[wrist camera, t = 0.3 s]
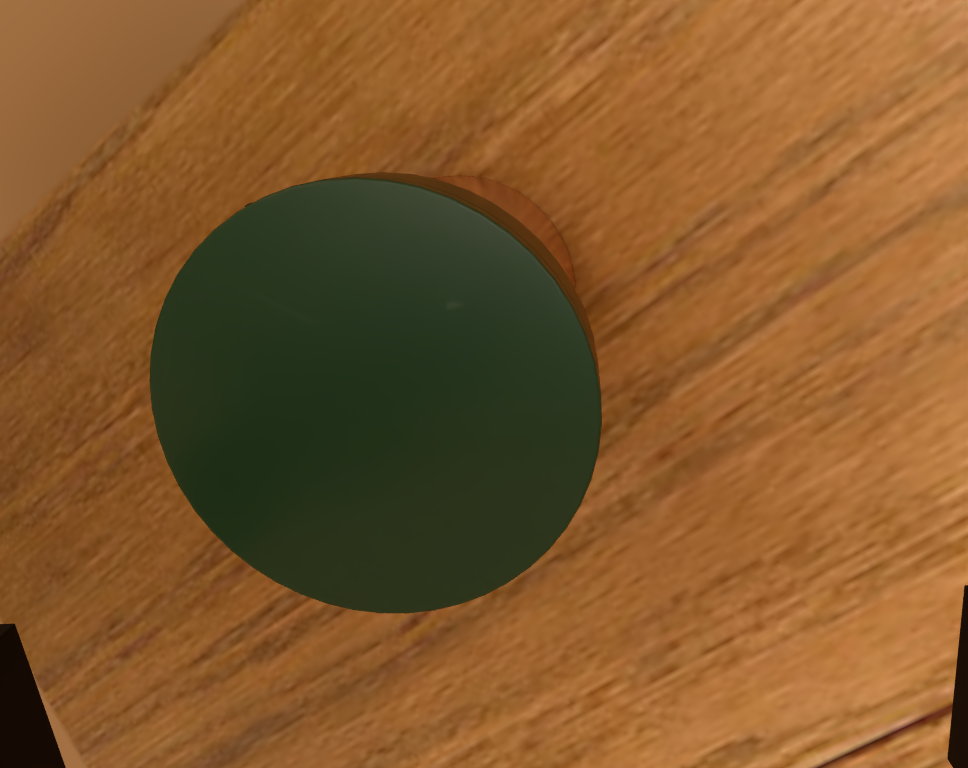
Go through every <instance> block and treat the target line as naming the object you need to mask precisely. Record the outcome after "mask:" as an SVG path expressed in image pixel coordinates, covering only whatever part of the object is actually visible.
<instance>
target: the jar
mask: <svg viewBox="0 0 968 768" xmlns="http://www.w3.org/2000/svg"><path fill="white" fill-rule="evenodd" d="M433 179H437V180H441V181H444V182H447V183H450V184H452V185H455V186H458V187H461V188H464V189H467V190H469V191H471V192H473V193H475V194H477V195H479V196H481V197H483V198H485V199H487V200H489V201H490V202H492V203H494V204H496V205H497V206H499V207H500V208H501V209H503V210H504V211H506V212H507V213H509V214H510V215H512V216H513V217H515V218H516V219H517V220H519V221H520V222H521V223H522V224H523V225H524V226H525V227H526V228H527V229H529V230H530V231H531V232H532V233H533V234H534V235H535V236H536V237H537V238H539V239H540V241H541V242H542V243H543V244H544V245H545V246H546V248H547V249H548V250H549V251H550V252H551V253H552V255H553V256H554V257H555V258H556V259H557V261H558V262H559V263H560V265H561V267H562V268H563V270H564V271H565V273H566V274H567V276H568V277H569V279H570V281H571V282H572V284H573V285H574V287H575V289H576V283H575V275H574V269H573V264H572V261H571V258H570V255H569V252H568V249H567V247H566V245H565V243H564V241H563V239H562V236H561V235H560V233H559V232H558V230H557V229H556V227H555V226H554V224H553V223H552V221H551V220H550V219H549V218H548V217H547V216H546V214H545V213H544V212H543V211H542V210H541V209H540V208H539V207H538V206H537V205H535V204H534V203H533V202H532V201H531V200H529V199H528V198H527V197H525V196H524V195H522V194H521V193H519V192H518V191H516V190H514V189H512V188H510V187H508V186H506V185H504V184H501V183H498V182H495V181H492V180H490V179H485V178H480V177H475V176H462V175H455V176H442V177H438V178H433Z"/></svg>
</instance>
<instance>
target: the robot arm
mask: <svg viewBox="0 0 968 768" xmlns="http://www.w3.org/2000/svg"><path fill="white" fill-rule="evenodd" d="M948 760H949V762H950V764H951V765H952V767H953V768H968V585H965V587H964V597H963V607H962V617H961V628H960V638H959V648H958V658H957V668H956V678H955V688H954V698H953V708H952V718H951V729H950V739H949V749H948ZM0 768H65V765H64V762H63V759H62V756H61V754H60V751H59V748H58V745H57V742H56V739H55V737H54V733H53V731H52V728H51V725H50V722H49V719H48V716H47V714H46V711H45V708H44V705H43V703H42V699H41V697H40V694H39V691H38V688H37V685H36V682H35V680H34V677H33V674H32V671H31V668H30V665H29V663H28V660H27V657H26V654H25V651H24V648H23V646H22V643H21V640H20V637H19V634H18V631H17V629H16V626H15V624H0Z"/></svg>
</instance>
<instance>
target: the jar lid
mask: <svg viewBox="0 0 968 768" xmlns="http://www.w3.org/2000/svg"><path fill="white" fill-rule="evenodd" d="M150 391H151V402H152V411H153V415H154V420H155V424H156V429H157V433H158V437H159V440H160V443H161V446H162V449H163V451H164V454H165V457H166V460H167V463H168V465H169V467H170V469H171V471H172V473H173V475H174V477H175V479H176V481H177V483H178V485H179V487H180V488H181V490H182V492H183V493H184V495H185V496H186V498H187V499H188V501H189V502H190V504H191V505H192V507H193V509H194V510H195V511H196V513H197V514H198V515H199V516H200V517H201V519H202V520H203V521H204V522H205V524H206V525H207V526H208V527H209V528H210V530H211V531H212V532H213V533H214V534H215V535H216V536H217V537H218V538H219V539H220V540H221V541H222V542H223V543H224V544H225V545H226V546H227V547H228V548H229V549H230V550H231V551H233V552H234V553H235V554H236V555H238V556H239V557H240V558H241V559H243V560H244V561H245V562H247V563H248V564H249V565H250V566H252V567H253V568H254V569H256V570H258V571H259V572H261V573H262V574H264V575H266V576H267V577H269V578H270V579H272V580H274V581H275V582H277V583H279V584H281V585H283V586H285V587H287V588H289V589H291V590H293V591H295V592H298V593H300V594H302V595H305V596H307V597H310V598H313V599H316V600H319V601H321V602H324V603H327V604H331V605H335V606H340V607H344V608H348V609H352V610H359V611H367V612H376V613H414V612H423V611H432V610H437V609H442V608H446V607H450V606H454V605H459V604H462V603H464V602H467V601H470V600H473V599H475V598H478V597H481V596H483V595H486V594H487V593H489V592H491V591H493V590H495V589H497V588H499V587H501V586H503V585H505V584H507V583H508V582H510V581H511V580H513V579H514V578H515V577H517V576H518V575H520V574H521V573H522V572H524V571H525V570H527V569H528V568H530V567H531V566H532V565H533V564H534V563H535V562H536V561H537V560H538V559H539V558H540V557H541V556H543V555H544V554H545V553H546V552H547V551H548V550H549V549H550V548H551V547H552V545H553V544H554V543H555V542H556V540H557V539H558V538H559V537H560V536H561V534H562V533H563V532H564V531H565V529H566V528H567V527H568V525H569V523H570V522H571V520H572V518H573V517H574V515H575V513H576V512H577V510H578V508H579V507H580V505H581V503H582V500H583V498H584V496H585V493H586V491H587V488H588V486H589V484H590V481H591V479H592V475H593V471H594V467H595V464H596V460H597V456H598V452H599V444H600V435H601V426H602V412H601V388H600V377H599V367H598V359H597V353H596V347H595V342H594V336H593V333H592V330H591V327H590V323H589V320H588V317H587V314H586V311H585V309H584V306H583V304H582V302H581V300H580V298H579V296H578V294H577V292H576V289H575V287H574V285H573V284H572V282H571V281H570V279H569V277H568V276H567V274H566V273H565V271H564V270H563V268H562V267H561V265H560V263H559V262H558V261H557V259H556V258H555V257H554V256H553V255H552V253H551V252H550V251H549V250H548V249H547V248H546V246H545V245H544V244H543V243H542V242H541V241H540V239H539V238H537V237H536V236H535V235H534V234H533V233H532V232H531V231H530V230H529V229H527V228H526V227H525V226H524V225H523V224H522V223H521V222H520V221H519V220H517V219H516V218H515V217H513V216H512V215H510V214H509V213H507V212H506V211H504V210H503V209H501V208H500V207H499V206H497V205H496V204H494V203H492V202H490V201H489V200H487V199H485V198H483V197H481V196H479V195H477V194H475V193H473V192H471V191H469V190H467V189H464V188H461V187H458V186H455V185H452V184H450V183H447V182H444V181H441V180H437V179H432V178H427V177H422V176H418V175H413V174H400V173H385V172H380V173H367V174H354V175H348V176H341V177H335V178H329V179H323V180H318V181H314V182H309V183H305V184H300V185H295V186H292V187H289V188H286V189H284V190H281V191H278V192H276V193H273V194H270V195H268V196H265V197H263V198H261V199H259V200H257V201H256V202H253V203H249V204H247V205H246V206H245V208H243V209H241V210H240V211H238V212H236V213H235V214H234V215H232V216H231V217H230V218H229V219H227V220H226V221H225V222H223V223H222V224H221V225H220V226H218V227H217V228H216V229H214V230H213V231H212V232H211V233H210V235H209V236H208V237H207V238H206V239H205V240H204V241H203V242H202V243H201V244H200V245H199V246H198V247H197V248H196V249H195V250H194V251H193V253H192V254H191V256H190V257H189V259H188V260H187V261H186V263H185V264H184V266H183V267H182V268H181V270H180V271H179V273H178V274H177V276H176V278H175V280H174V282H173V284H172V286H171V288H170V290H169V292H168V294H167V296H166V298H165V301H164V304H163V307H162V310H161V313H160V316H159V319H158V322H157V325H156V329H155V334H154V339H153V345H152V350H151V363H150Z"/></svg>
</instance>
